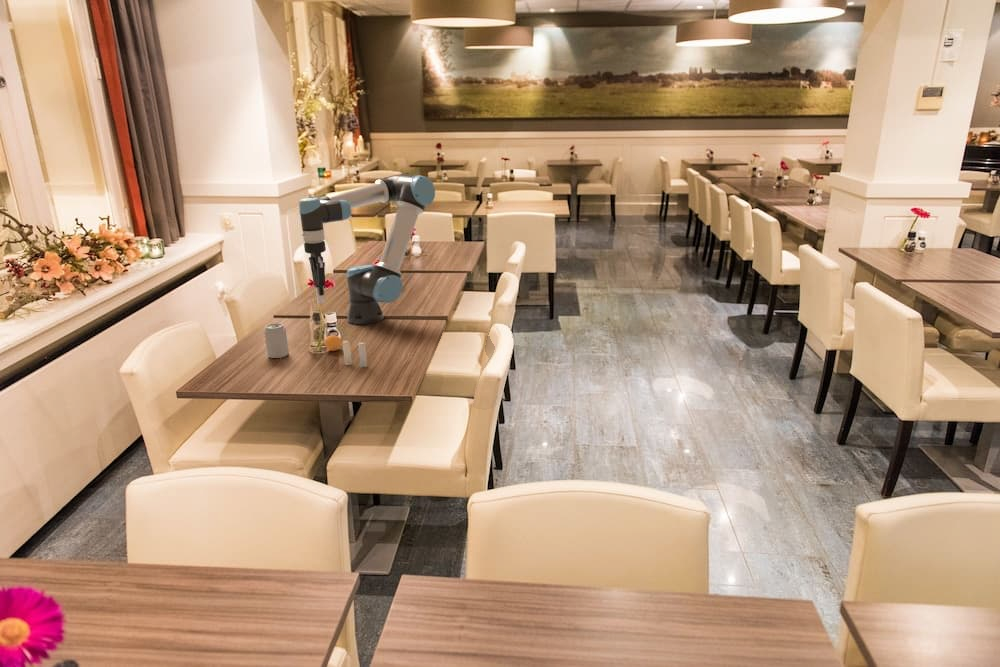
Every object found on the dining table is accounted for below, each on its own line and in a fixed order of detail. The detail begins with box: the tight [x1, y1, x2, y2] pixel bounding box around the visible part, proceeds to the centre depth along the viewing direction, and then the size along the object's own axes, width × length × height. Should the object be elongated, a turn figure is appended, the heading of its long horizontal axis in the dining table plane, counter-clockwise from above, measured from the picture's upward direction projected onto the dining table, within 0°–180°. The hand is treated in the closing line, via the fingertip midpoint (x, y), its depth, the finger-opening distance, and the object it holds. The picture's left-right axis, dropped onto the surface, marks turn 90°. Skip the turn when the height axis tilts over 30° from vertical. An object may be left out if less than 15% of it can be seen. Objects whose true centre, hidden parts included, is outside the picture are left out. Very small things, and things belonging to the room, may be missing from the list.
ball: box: [324, 334, 342, 352], centre depth 251 cm, size 6×6×6 cm
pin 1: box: [341, 340, 353, 366], centre depth 236 cm, size 2×2×8 cm
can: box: [263, 322, 290, 359], centre depth 246 cm, size 8×8×12 cm
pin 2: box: [357, 341, 368, 368], centre depth 234 cm, size 2×2×8 cm
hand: (321, 302), depth 254 cm, fingers closed
